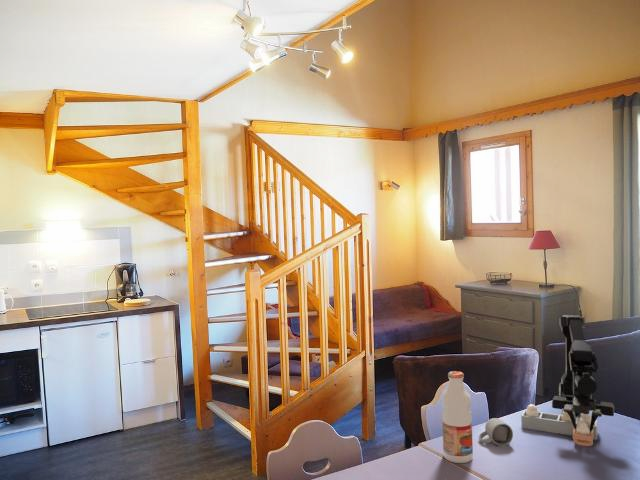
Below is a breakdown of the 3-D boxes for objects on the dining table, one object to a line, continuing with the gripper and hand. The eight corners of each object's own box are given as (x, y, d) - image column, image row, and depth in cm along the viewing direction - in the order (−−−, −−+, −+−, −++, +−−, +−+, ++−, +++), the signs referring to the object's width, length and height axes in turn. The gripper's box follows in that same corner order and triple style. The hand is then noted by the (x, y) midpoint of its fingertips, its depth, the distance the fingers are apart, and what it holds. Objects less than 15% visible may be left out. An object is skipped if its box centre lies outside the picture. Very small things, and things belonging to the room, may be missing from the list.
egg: (576, 432, 182) (576, 416, 182) (590, 434, 180) (590, 418, 180) (575, 437, 178) (575, 420, 178) (590, 439, 176) (589, 422, 176)
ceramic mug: (504, 435, 187) (503, 414, 187) (513, 445, 179) (513, 423, 179) (475, 438, 187) (474, 416, 186) (483, 447, 178) (482, 425, 178)
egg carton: (524, 421, 200) (524, 400, 199) (597, 432, 187) (597, 410, 187) (521, 427, 194) (521, 406, 194) (596, 439, 181) (596, 416, 181)
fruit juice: (447, 449, 178) (445, 367, 177) (475, 454, 173) (473, 370, 172) (439, 460, 170) (437, 375, 169) (468, 466, 165) (466, 378, 164)
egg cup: (574, 437, 183) (574, 427, 183) (593, 440, 180) (593, 430, 180) (572, 444, 178) (572, 433, 178) (592, 447, 175) (592, 436, 175)
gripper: (549, 388, 176) (550, 434, 177) (613, 396, 167) (613, 444, 167) (553, 379, 186) (554, 422, 187) (613, 386, 177) (614, 431, 177)
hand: (583, 430), depth 179 cm, fingers closed on egg, 4 cm apart
